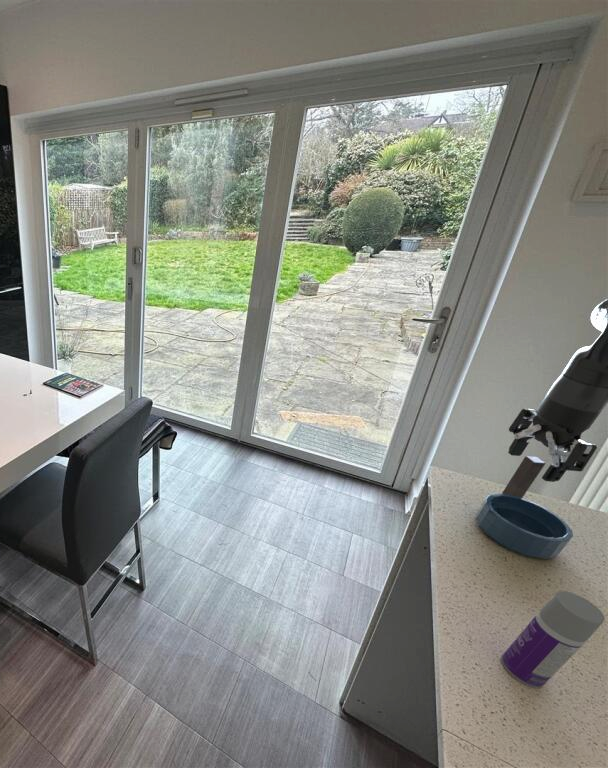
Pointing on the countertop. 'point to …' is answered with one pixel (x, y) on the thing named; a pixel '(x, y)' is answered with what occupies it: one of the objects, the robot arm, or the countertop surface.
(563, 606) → the container
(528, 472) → the stirring stick
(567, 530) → the bowl
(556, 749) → the countertop surface
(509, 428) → the robot arm
